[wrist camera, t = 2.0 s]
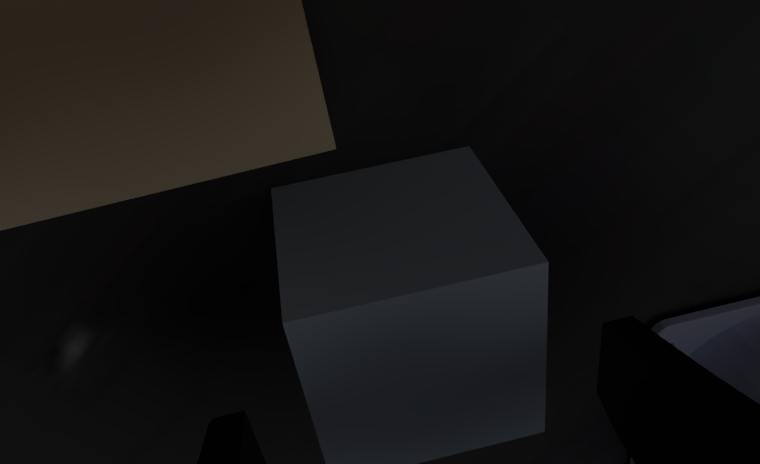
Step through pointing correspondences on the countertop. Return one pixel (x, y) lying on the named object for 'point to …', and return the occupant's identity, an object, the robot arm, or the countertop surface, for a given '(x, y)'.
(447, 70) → the countertop surface
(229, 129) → the oak block
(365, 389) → the blue-grey cube
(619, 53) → the countertop surface
